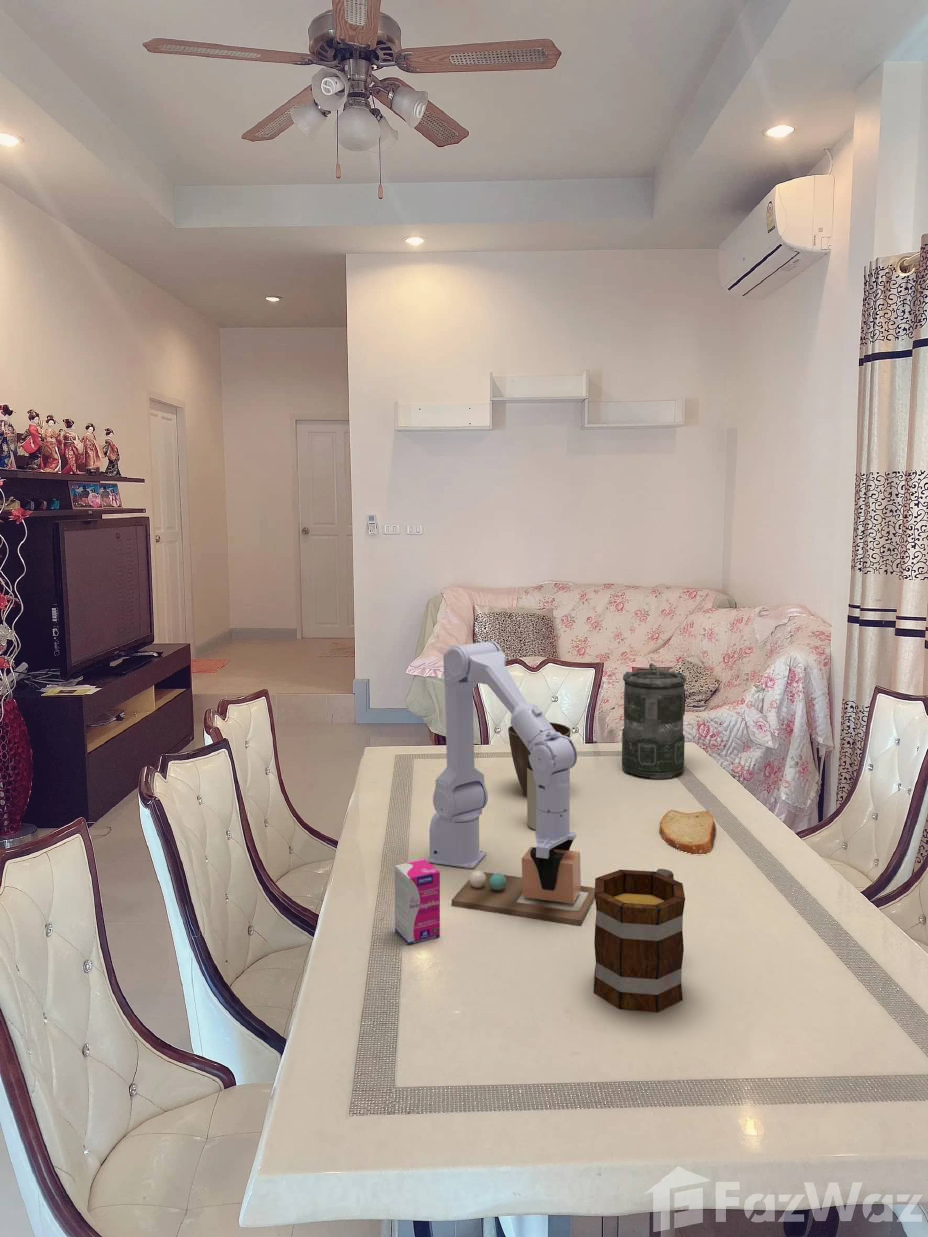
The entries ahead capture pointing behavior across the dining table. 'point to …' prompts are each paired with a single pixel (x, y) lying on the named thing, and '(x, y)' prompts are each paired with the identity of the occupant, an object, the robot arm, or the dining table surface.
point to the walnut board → (524, 902)
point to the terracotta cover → (566, 878)
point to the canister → (653, 723)
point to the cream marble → (477, 879)
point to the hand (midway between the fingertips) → (552, 882)
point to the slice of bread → (688, 831)
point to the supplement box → (417, 901)
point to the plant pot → (527, 752)
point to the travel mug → (531, 797)
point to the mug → (639, 939)
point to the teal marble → (497, 882)
